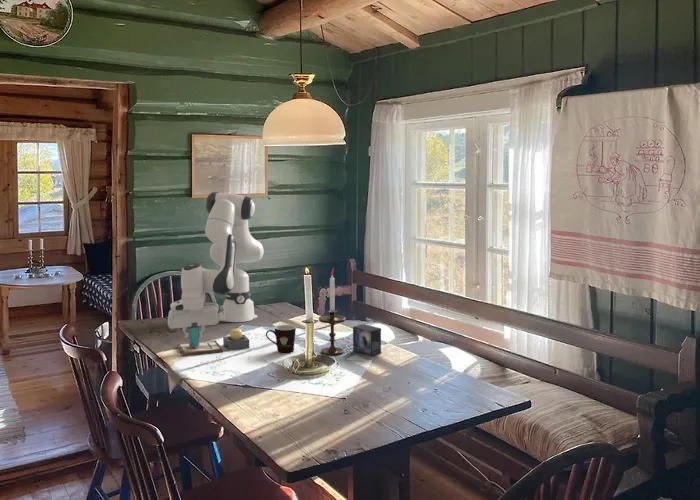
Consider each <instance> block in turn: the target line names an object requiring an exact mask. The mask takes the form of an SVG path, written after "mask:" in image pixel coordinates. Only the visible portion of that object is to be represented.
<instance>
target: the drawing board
mask: <svg viewBox="0 0 700 500" xmlns="http://www.w3.org/2000/svg"><path fill="white" fill-rule="evenodd" d="M176 347H177V349H178V350H179V353H180V354H181V356H182V357H189V356H190V357H191V356H199V355H208V354H218V353H224V349H223V348H222V346H221V345H220V344H219V342H217V340H215V339H214V340H206V341H199V346H198V347H190V346H189V342H186V343H177V345H176Z"/></svg>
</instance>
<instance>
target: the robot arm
mask: <svg viewBox="0 0 700 500" xmlns="http://www.w3.org/2000/svg"><path fill="white" fill-rule="evenodd" d="M255 203H256V202H255V201H254V199H253V198H252V197H249V196H247V195H246V196H244V195H240V194H235V193H229V192H219V191H213V192H211V193H209V194H208V195H207V198H206V200H205V210H206V212H207V213H208V214H209V215H208V218H207V220H206V224H205V228H204V229H205V230H204V231H205V232H204V233H205V235H206V238H207V239H208V240H209V241H210V242H212V244H211V246H210V249H209V257H210V258H211V260H212V261H213V262H214V263H215V264H217V265H218V266H219V267H220V268H219V269H209V268H204V267H202V264H200V263H197V262H196V263H195V262H192V263H186V264H185V265H184V266H183V267H182V268H181V274H180V285H181V286H180V287H181V292H182V293H181V299H179V300H177V301H174V302H172V303H170V305H169V307H170V310H169V312H168V314H167V315H168V316H167V327H168V328H169V329H170V330H171V329H172V330H173V329H182V332H183V333H184V336H185V339H189V332H187V328H189V327H191V325H192V324H191V323H197V326H199V327H200V328H201V329H200V330H199V338H200V337H203V336H204V334H203V333H204V331H205V329H206V327H207V326H214V325H215V326H216V325H218V324H219V322H229V323H243V322H249V321H253V320H255V319H257V318H258V315H257V314H255V309H254V308H255V306H254V301H253V300H252V299H251V290H250V277H249V275H248V273H247V272H246V271H244V270H243V269H240V268H238V267H237V265H236V264H243V263H244V264H245V263H247V264H251V263H255V262H259V261H261V260H262V259H263V256H264V253H265V252H264V251H265V250H264V247H263V246H264V245H263V244H262V243H261V242H260V241H259V240H257V239H255V238H254V236H252V234H251V232H250V229H249V220H250V219H251V218H253V216H254V213H255V212H256V204H255ZM204 293H206V294H207V293H209V294H217V295H221V296H225V299H224V301H223V305H219V304H218V303H216V302H215V301H212V302H205V294H204ZM219 311H220V312H219ZM218 312H219V313H218Z"/></svg>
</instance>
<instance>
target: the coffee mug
mask: <svg viewBox="0 0 700 500" xmlns="http://www.w3.org/2000/svg"><path fill="white" fill-rule="evenodd" d="M296 329H297V327H296V326H295V325H292V324H282V325H276V326H274V330H272V329H269V330H267V331H266V333H265V336H266V339H267V340H268V341H270V342H271V343H273V344H274V345H275V346H276V348H277V352H278V354H282V353H283V355H286V354H292V353H294V351H295V349H294V348H295V340H296ZM270 332H272V333H273V334H274V335H275V340H272V339H271V338H270V337H269V336H268V333H270ZM275 341H276V342H275ZM291 352H292V353H291Z"/></svg>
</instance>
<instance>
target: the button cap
mask: <svg viewBox="0 0 700 500" xmlns="http://www.w3.org/2000/svg"><path fill="white" fill-rule="evenodd" d="M242 335H243V329H242V328H231V329H230V330H229V336H230V340H231V341H232V340H242Z"/></svg>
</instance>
